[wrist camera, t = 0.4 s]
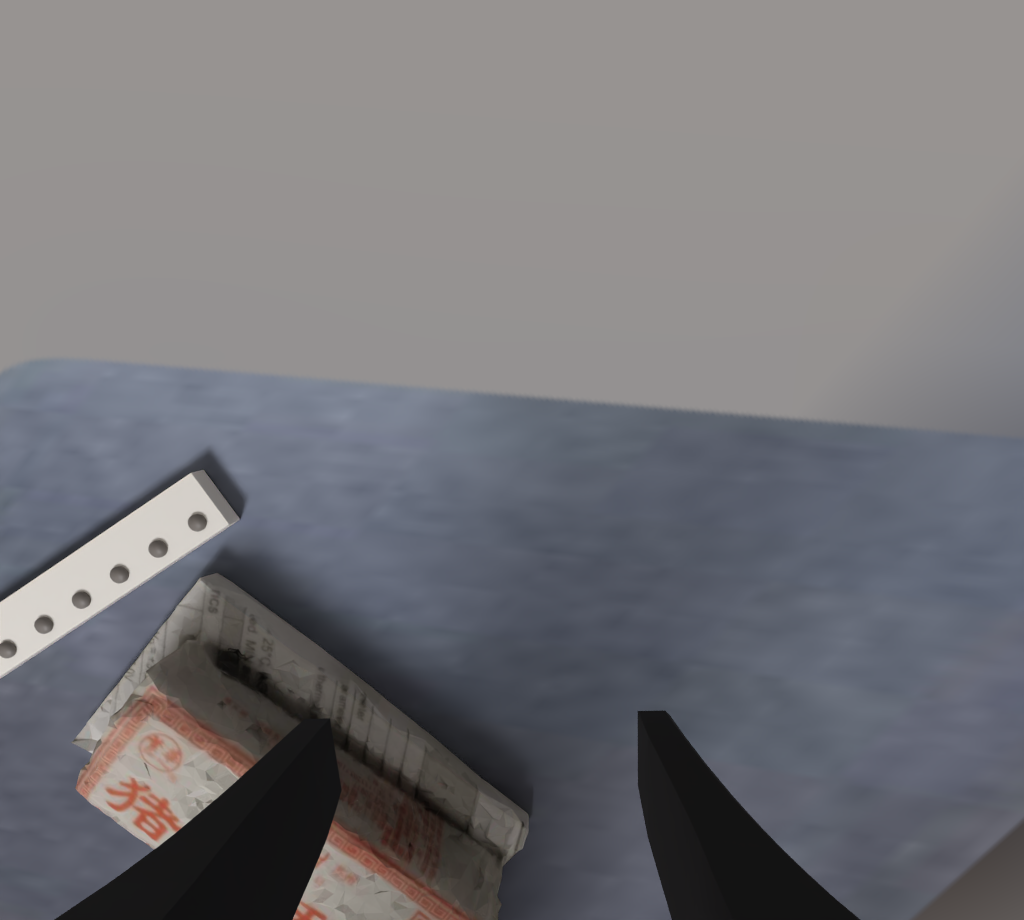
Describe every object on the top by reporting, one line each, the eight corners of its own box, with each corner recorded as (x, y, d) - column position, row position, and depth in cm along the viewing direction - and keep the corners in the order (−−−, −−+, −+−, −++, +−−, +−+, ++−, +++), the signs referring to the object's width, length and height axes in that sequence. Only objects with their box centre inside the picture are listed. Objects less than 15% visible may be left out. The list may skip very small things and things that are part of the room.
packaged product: (543, 915, 18) (374, 1085, 19) (537, 806, 23) (402, 946, 24) (136, 609, 17) (-22, 811, 18) (221, 561, 21) (92, 722, 22)
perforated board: (-49, 711, 22) (-73, 724, 21) (-87, 666, 22) (-113, 678, 21) (240, 519, 21) (227, 525, 20) (203, 469, 20) (189, 473, 20)
